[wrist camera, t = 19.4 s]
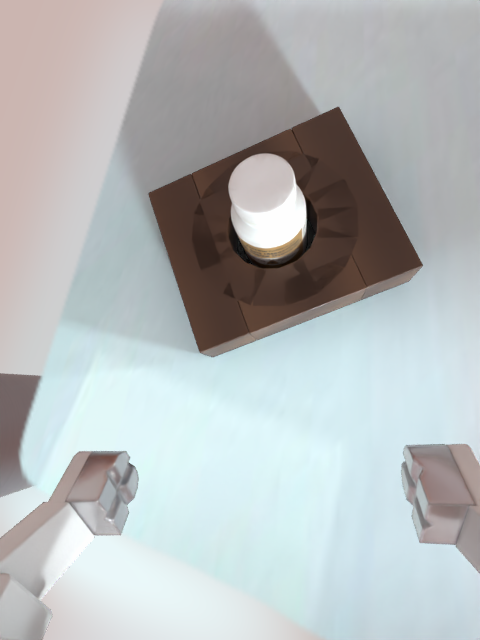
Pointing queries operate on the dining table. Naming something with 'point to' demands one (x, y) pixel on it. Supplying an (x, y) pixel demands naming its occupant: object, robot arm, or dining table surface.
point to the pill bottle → (268, 211)
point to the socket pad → (297, 277)
